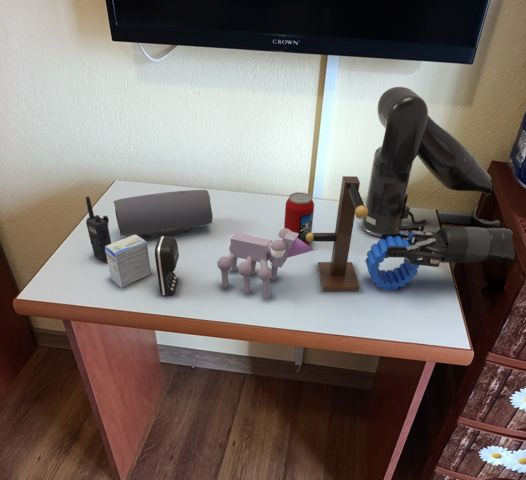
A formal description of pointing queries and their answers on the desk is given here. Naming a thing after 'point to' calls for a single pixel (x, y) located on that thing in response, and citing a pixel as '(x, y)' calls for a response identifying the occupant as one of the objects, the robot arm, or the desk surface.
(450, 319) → the desk surface
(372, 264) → the ridged ring
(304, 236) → the beverage can
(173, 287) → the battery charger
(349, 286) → the hook stand
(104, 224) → the two-way radio
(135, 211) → the bluetooth speaker
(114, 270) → the medicine box
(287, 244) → the toy sheep
